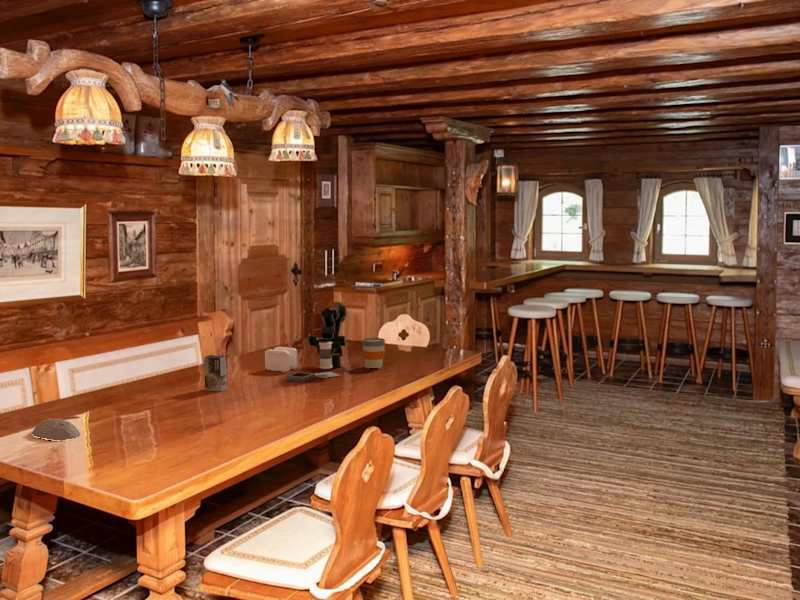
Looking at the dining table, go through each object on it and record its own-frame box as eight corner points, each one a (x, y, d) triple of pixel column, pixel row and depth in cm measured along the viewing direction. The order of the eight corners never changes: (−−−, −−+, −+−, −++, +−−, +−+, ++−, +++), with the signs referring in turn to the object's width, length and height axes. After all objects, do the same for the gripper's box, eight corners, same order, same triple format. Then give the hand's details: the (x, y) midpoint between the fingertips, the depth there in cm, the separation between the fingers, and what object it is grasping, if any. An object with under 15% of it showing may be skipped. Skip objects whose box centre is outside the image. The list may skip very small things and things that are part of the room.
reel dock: (297, 376, 397) (297, 372, 397) (315, 378, 393) (315, 373, 393) (286, 380, 388) (286, 375, 387) (304, 382, 383) (304, 377, 383)
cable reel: (326, 365, 404) (325, 340, 402) (335, 367, 400) (334, 342, 398) (316, 367, 399) (316, 342, 397) (326, 369, 395) (325, 343, 393)
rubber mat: (330, 372, 407) (330, 371, 407) (340, 376, 398) (340, 375, 398) (311, 375, 401) (311, 373, 401) (321, 378, 392) (321, 377, 392)
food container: (60, 423, 309) (58, 407, 307) (92, 438, 293) (90, 421, 291) (21, 435, 297) (18, 419, 296) (52, 451, 281) (49, 434, 280)
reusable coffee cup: (358, 368, 418) (358, 340, 417) (368, 364, 430) (367, 337, 428) (379, 370, 414) (379, 342, 412) (389, 365, 425) (388, 338, 424)
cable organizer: (299, 369, 416) (298, 348, 415) (287, 373, 406) (287, 351, 405) (275, 367, 422) (275, 346, 421) (264, 371, 413) (263, 349, 412)
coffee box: (228, 389, 370) (227, 355, 368) (221, 391, 364) (220, 357, 362) (211, 387, 373) (210, 354, 371) (204, 390, 367) (203, 356, 365)
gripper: (308, 320, 401) (304, 345, 392) (344, 320, 400) (341, 345, 390) (312, 332, 410) (308, 357, 400) (347, 333, 408) (344, 357, 399)
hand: (325, 354), depth 397 cm, fingers closed on cable reel, 6 cm apart
